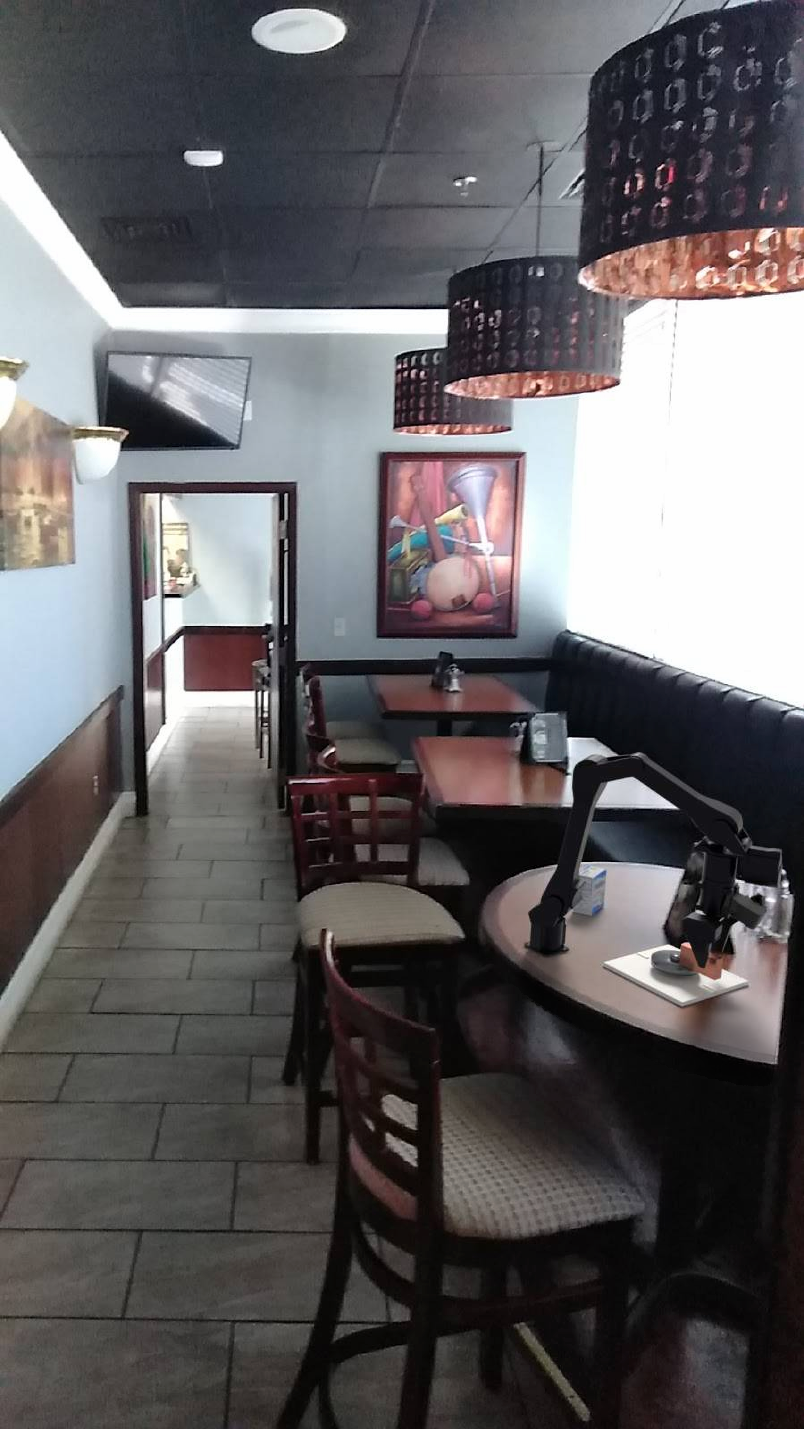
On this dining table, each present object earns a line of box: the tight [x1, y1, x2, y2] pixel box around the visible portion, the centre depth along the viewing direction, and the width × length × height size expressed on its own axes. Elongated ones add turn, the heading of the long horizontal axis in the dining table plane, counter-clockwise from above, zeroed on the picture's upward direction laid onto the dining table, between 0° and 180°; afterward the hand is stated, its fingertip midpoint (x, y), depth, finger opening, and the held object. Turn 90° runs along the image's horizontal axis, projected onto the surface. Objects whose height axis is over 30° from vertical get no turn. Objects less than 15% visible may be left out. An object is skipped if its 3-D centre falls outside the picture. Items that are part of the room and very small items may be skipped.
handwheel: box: [651, 942, 724, 980], centre depth 184 cm, size 9×14×5 cm, turn 34°
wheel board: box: [603, 944, 749, 1008], centre depth 186 cm, size 18×19×2 cm
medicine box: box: [572, 865, 607, 917], centre depth 218 cm, size 8×4×9 cm, turn 148°
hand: (710, 959), depth 182 cm, fingers open, 9 cm apart
